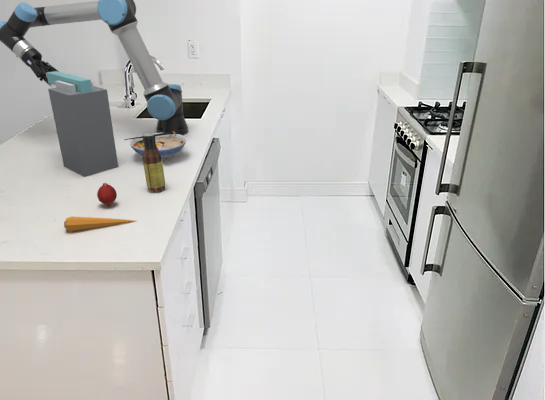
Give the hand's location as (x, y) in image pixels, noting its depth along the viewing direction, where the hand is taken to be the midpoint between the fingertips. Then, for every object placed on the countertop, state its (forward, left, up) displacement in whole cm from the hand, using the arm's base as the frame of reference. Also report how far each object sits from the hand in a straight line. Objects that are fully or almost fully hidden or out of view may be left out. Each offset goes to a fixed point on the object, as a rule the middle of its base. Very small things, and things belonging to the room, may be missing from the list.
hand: (66, 90), depth 186 cm
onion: (-31, +64, -24) cm, 75 cm away
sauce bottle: (-44, +52, -24) cm, 73 cm away
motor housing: (-15, +29, -24) cm, 41 cm away
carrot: (-33, +79, -24) cm, 89 cm away
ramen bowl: (-40, +19, -24) cm, 51 cm away
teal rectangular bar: (-11, +25, +6) cm, 28 cm away
